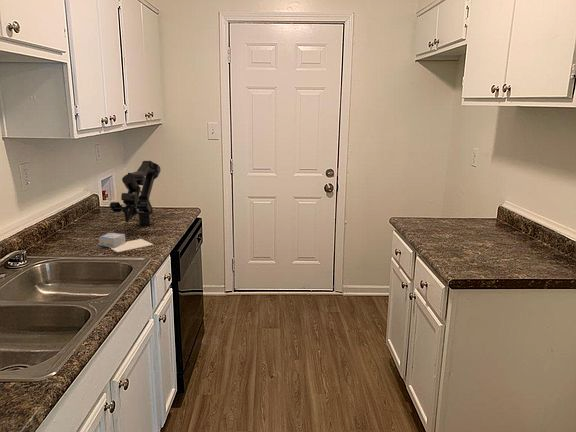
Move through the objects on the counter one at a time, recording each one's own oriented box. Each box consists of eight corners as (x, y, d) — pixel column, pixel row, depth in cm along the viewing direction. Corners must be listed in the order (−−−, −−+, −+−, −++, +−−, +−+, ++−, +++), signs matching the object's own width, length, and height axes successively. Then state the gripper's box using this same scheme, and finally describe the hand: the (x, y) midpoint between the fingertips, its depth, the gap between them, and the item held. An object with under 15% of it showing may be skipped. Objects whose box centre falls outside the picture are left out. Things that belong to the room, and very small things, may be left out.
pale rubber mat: (106, 246, 212) (106, 245, 212) (141, 239, 223) (141, 238, 223) (117, 252, 203) (117, 251, 203) (153, 244, 214) (153, 244, 214)
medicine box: (125, 233, 215) (113, 238, 207) (126, 243, 216) (114, 248, 208) (110, 232, 217) (98, 237, 209) (111, 241, 218) (99, 246, 210)
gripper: (109, 185, 227) (101, 213, 219) (147, 186, 226) (140, 213, 218) (116, 198, 237) (109, 225, 229) (153, 198, 236) (147, 225, 228)
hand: (126, 222), depth 226 cm, fingers closed
